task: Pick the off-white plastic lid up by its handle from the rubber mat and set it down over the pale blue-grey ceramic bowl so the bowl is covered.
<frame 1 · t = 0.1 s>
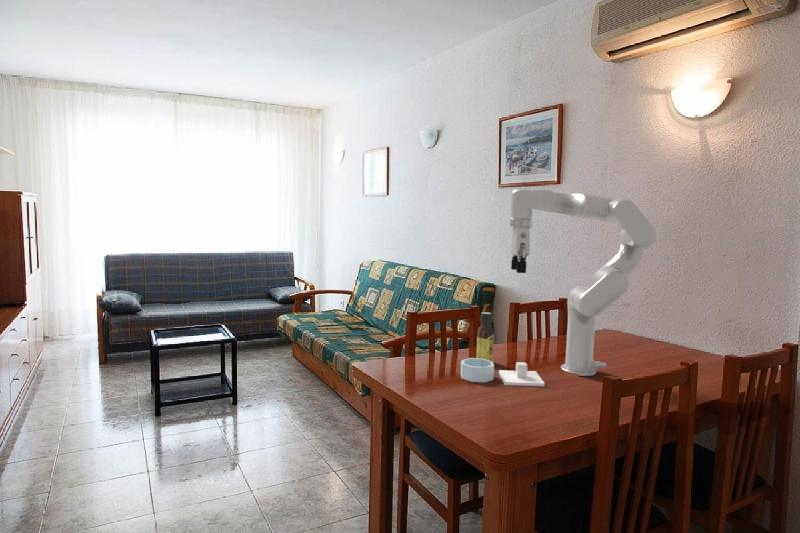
hand: (518, 271, 192), 37 cm above the table, tool pointing down, fingers open, 9 cm apart
mat: (520, 381, 182), on the table
sauce bottle: (484, 364, 201), on the table
lid: (520, 379, 182), point 1 cm above the table, touching mat
bowl: (476, 379, 184), on the table
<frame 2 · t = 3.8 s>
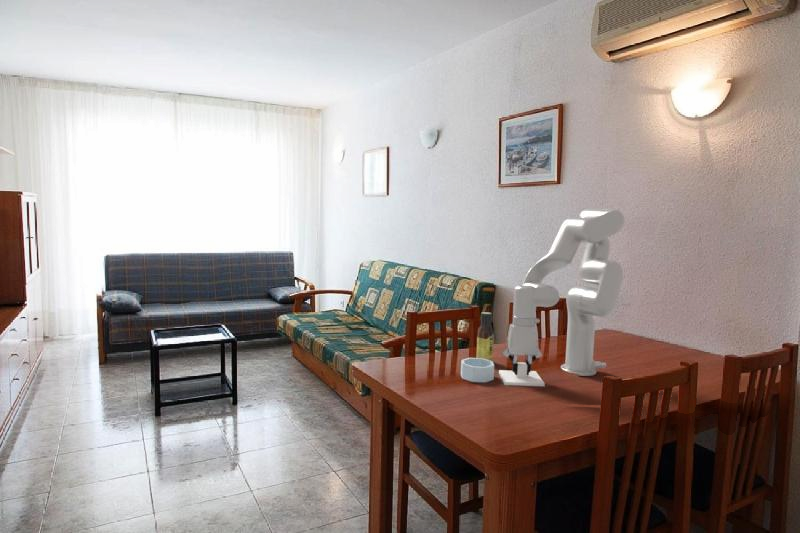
hand: (521, 373, 182), 3 cm above the table, tool pointing down, fingers closed on lid, 3 cm apart
lid: (520, 379, 182), point 1 cm above the table, touching gripper, mat
everything else where it was.
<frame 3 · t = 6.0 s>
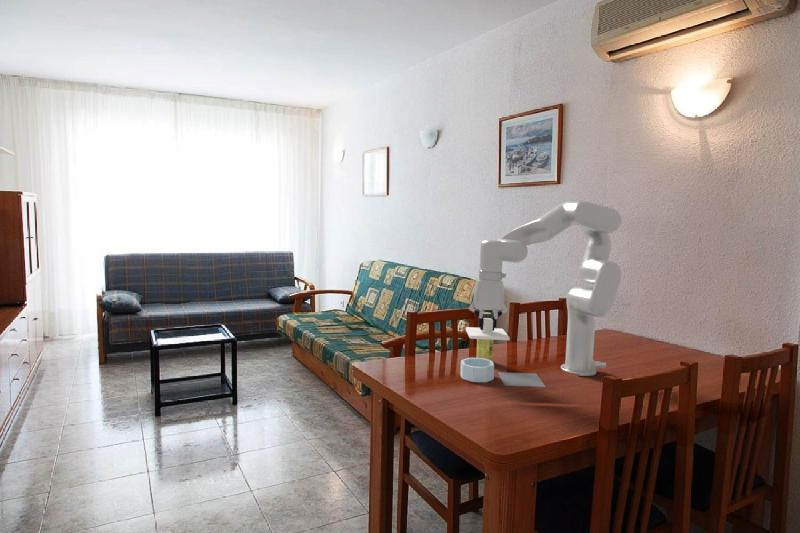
hand: (487, 329, 181), 18 cm above the table, tool pointing down, fingers closed on lid, 3 cm apart
lid: (486, 334, 181), point 16 cm above the table, touching gripper
everything else where it was.
when the fingers open (10 cm above the table, at t = 8.3 s): lid drops 2 cm, resting on bowl.
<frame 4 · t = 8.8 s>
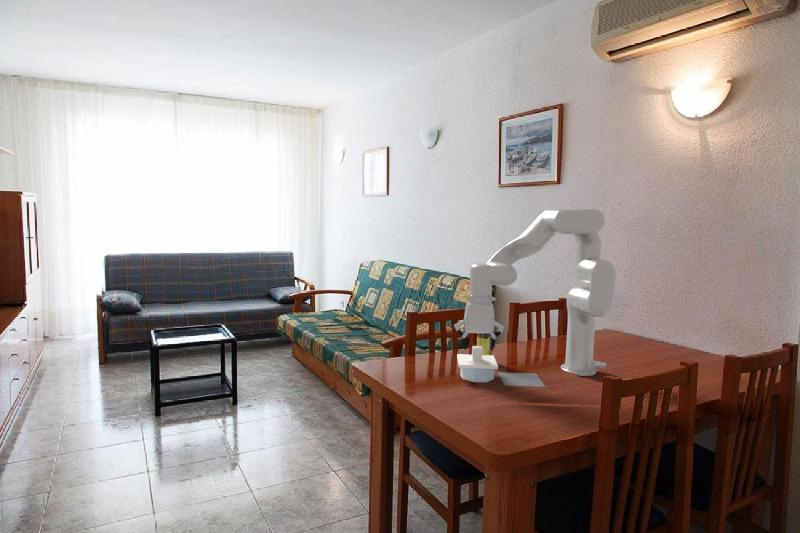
hand: (478, 349, 182), 11 cm above the table, tool pointing down, fingers open, 8 cm apart
lid: (476, 362, 183), point 6 cm above the table, touching bowl
bowl: (476, 379, 184), on the table, touching lid
everything else where it was.
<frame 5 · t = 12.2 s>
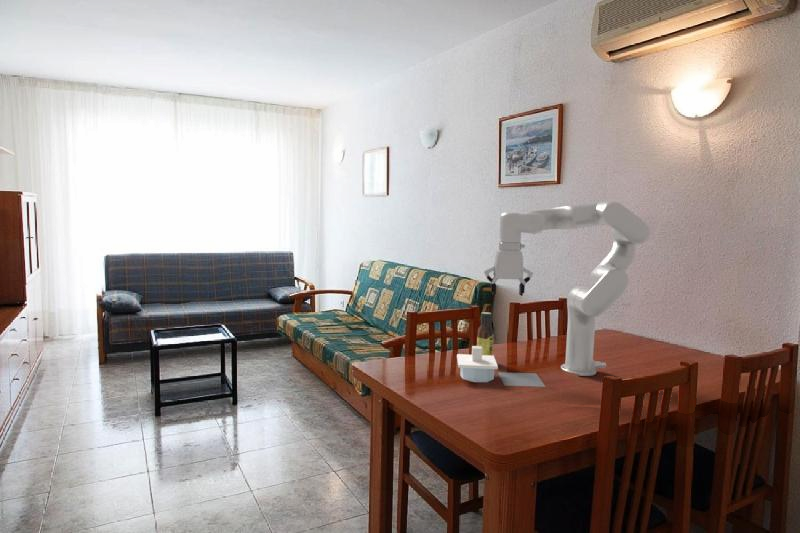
hand: (507, 294, 190), 28 cm above the table, tool pointing down, fingers open, 9 cm apart
nothing on the table moved.
at the end: lid 0.5 cm off-centre on the bowl, point 6.0 cm above the bowl's base; lid touching bowl; lid tilted 0° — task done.
